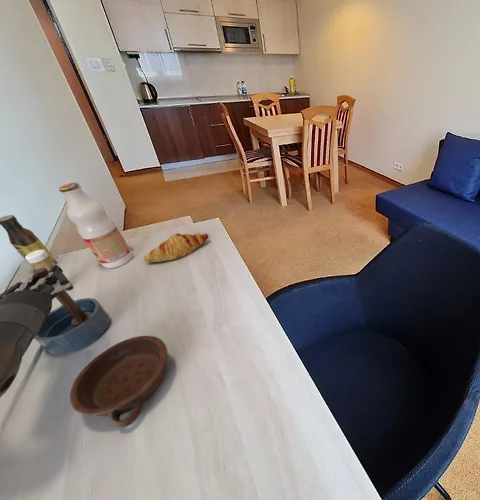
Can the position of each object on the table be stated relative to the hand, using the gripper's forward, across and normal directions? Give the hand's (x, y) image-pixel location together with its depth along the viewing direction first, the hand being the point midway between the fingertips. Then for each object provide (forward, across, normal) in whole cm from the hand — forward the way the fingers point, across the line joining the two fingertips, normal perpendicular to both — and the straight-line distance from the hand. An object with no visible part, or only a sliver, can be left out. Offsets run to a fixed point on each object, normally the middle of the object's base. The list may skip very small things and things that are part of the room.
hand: (50, 270), depth 71 cm
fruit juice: (+31, -1, +18) cm, 36 cm away
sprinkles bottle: (+23, +13, +18) cm, 32 cm away
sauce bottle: (+41, +23, +18) cm, 50 cm away
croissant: (+25, -21, +18) cm, 37 cm away
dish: (-26, -13, +18) cm, 34 cm away
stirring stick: (-3, 0, +16) cm, 16 cm away
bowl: (-3, +2, +18) cm, 18 cm away
